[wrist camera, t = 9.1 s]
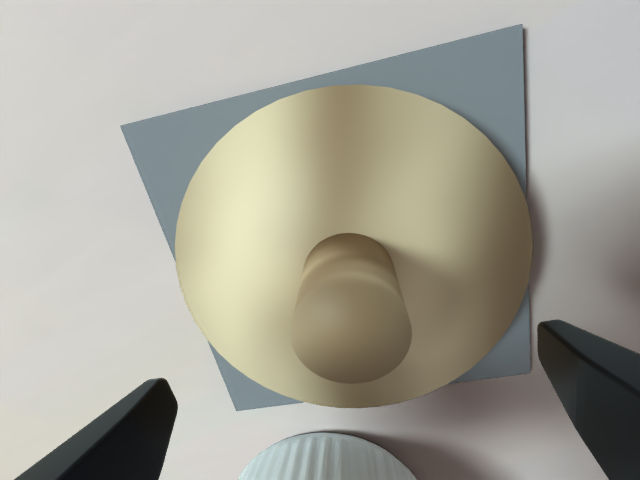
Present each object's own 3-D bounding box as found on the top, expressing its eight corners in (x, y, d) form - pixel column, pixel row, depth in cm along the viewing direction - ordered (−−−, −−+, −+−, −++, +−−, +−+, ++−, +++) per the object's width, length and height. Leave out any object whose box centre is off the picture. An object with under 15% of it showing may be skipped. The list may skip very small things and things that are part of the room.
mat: (517, 25, 11) (522, 23, 11) (527, 368, 15) (530, 373, 15) (124, 125, 13) (119, 125, 12) (238, 405, 17) (236, 411, 17)
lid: (511, 39, 11) (619, 4, 7) (524, 368, 15) (594, 472, 11) (133, 135, 12) (28, 156, 8) (242, 406, 17) (210, 509, 13)
